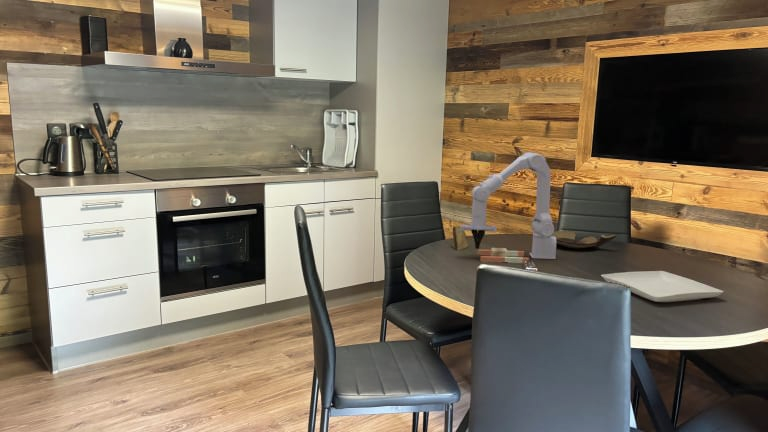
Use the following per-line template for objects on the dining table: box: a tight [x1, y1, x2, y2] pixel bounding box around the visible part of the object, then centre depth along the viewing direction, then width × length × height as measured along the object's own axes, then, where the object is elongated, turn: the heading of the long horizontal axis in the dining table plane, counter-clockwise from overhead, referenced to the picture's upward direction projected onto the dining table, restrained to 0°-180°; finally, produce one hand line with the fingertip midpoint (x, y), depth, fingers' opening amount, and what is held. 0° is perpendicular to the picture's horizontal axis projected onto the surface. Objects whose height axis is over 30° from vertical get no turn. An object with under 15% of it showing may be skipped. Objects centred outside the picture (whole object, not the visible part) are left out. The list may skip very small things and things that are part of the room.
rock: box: [452, 225, 470, 251], centre depth 249 cm, size 11×9×10 cm
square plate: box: [600, 270, 725, 303], centre depth 190 cm, size 27×27×4 cm
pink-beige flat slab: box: [477, 249, 530, 264], centre depth 231 cm, size 19×13×2 cm
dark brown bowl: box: [551, 230, 617, 249], centre depth 254 cm, size 22×30×8 cm
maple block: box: [490, 247, 508, 257], centre depth 231 cm, size 6×6×4 cm
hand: (477, 248), depth 231 cm, fingers closed
